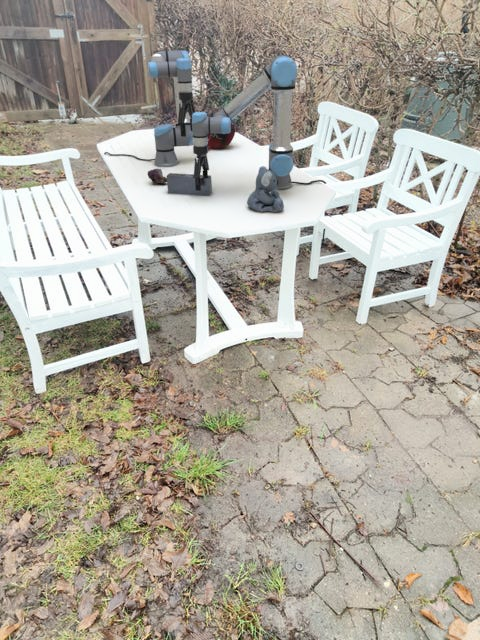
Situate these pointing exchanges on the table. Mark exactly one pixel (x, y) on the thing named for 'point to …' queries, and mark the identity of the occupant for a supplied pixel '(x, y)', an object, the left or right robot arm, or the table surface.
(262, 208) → the koala plush
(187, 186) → the bar
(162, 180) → the rock
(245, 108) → the right robot arm
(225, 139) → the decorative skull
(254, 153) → the table surface
